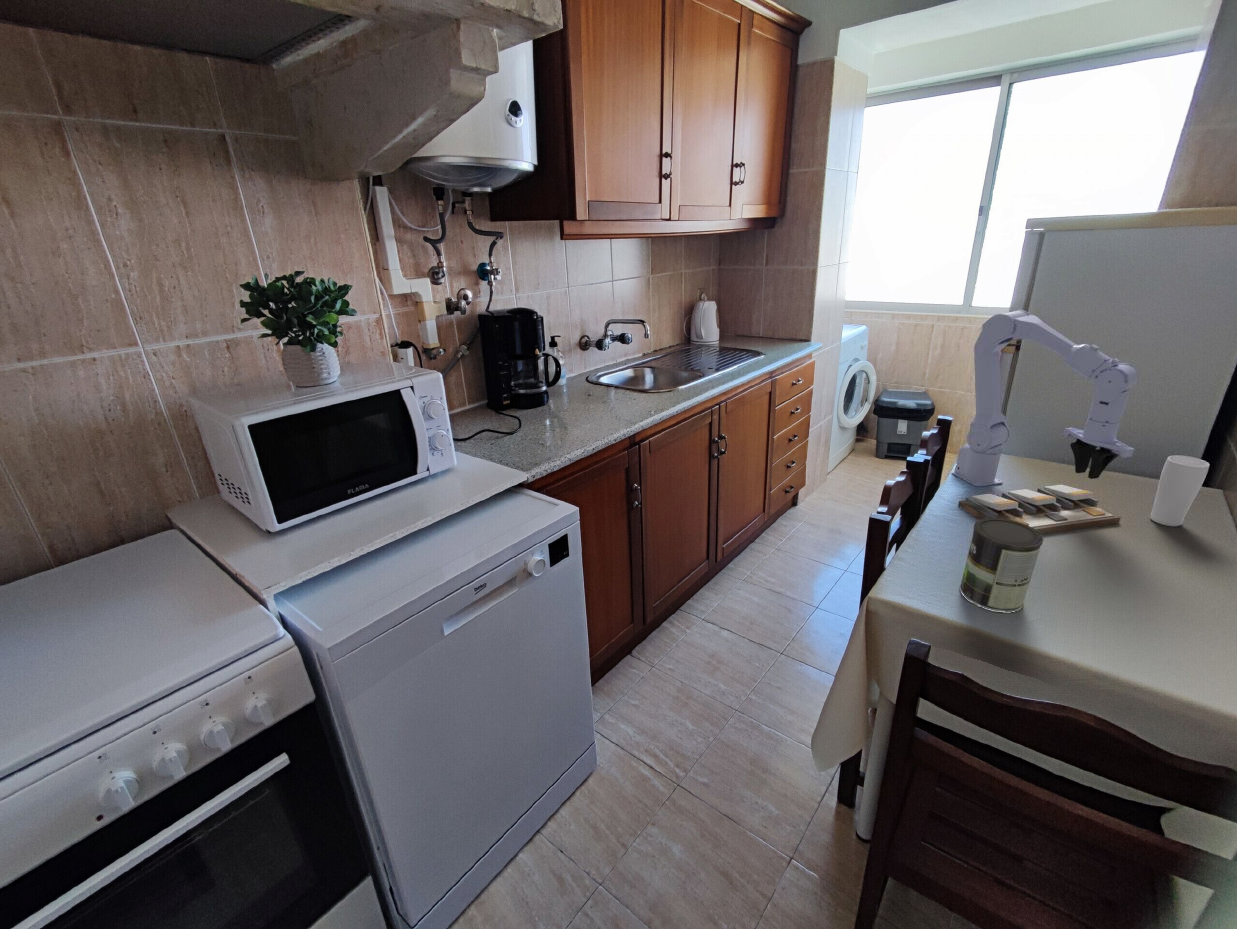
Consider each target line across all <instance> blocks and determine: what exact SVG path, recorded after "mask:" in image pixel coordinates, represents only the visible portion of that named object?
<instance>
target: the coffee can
mask: <svg viewBox="0 0 1237 929" xmlns="http://www.w3.org/2000/svg"><path fill="white" fill-rule="evenodd" d="M1043 542H1044V536H1043V534H1040V533H1039V532H1038V531H1037V530H1035V529H1034V528H1032V527H1030V526H1028V525H1025V524H1023V523H1020V522H1017V521H1013V520H1008V519H1002V518H985V519H978V520H977V521H975V522H974V525H973V532H972V536H971V541H970V545H969V549H968V554H967V557H966V562H965V564H964V570H963V574H962V578H961V583H960V586H959V588H960V590H961V592H962V593H963V594H964V596H965V597H966V598H967V599H968V600H970V601H972V602H973V603H974V604H976V605H980V606H981V607H984V608H987V609H991V610H995V611H1005V612H1012V611H1017V610H1020V609H1021V608H1022V609H1023V608H1024V603H1025V600H1026V596H1027V593H1028V590H1029V589H1028V588H1029V586H1030V582H1031V579H1032V576H1033V572H1034V569H1035V566H1036V563H1037V560H1038V555H1039V552H1040V548H1041V546H1042V545H1043ZM960 590H959V591H960ZM1022 609H1021V610H1022ZM1021 610H1020V611H1021Z"/></svg>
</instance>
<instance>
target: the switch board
mask: <svg viewBox="0 0 1237 929" xmlns="http://www.w3.org/2000/svg"><path fill="white" fill-rule="evenodd" d="M1028 490H1030V489H1028ZM1034 491H1035V492H1038V493H1041V494H1045V495H1049V496H1053V497H1055V498H1056V503H1050V504H1042V505H1035V504H1031V503H1028V502H1025V501H1022V500H1019V499H1017V498H1015V497H1013V496H1011V495H1009V494H1008V492H1001V494H1000V495H998V496H999V497H1002V498H1005V499H1008V500H1012V501H1015V502H1017V503H1018V508H1012V509H1005V510H996V509H993V508H990V507H988V506H985V505H982V504H980V503H978V502H977V501H975V500H973V499H972V497H969V496H967V497H965V499H961V500H958V504H957V507H958V506H959V507H958V508H960V507H961V508H960V509H961V510H963V509H964V510H963V511H965V512H966V511H967V512H966V513H968V512H969V513H968V514H970V515H971V514H972V516H973V517H975V518H977V519H978V518H979V519H978V520H980V519H985V518H1002V519H1008V520H1013V521H1017V522H1020V523H1023V524H1025V525H1028V526H1030V527H1032V528H1034V529H1035V530H1037V531H1038V532H1039V533H1040V534H1041V535H1044V534H1051V533H1058V532H1064V531H1065V532H1066V531H1072V530H1078V529H1087V528H1092V527H1093V528H1094V527H1099V526H1108V525H1114V524H1119V523H1120V521H1121V516H1119V515H1117V514H1115V513H1113V512H1111V511H1109V510H1106V509H1104V508H1103V507H1100V506H1098V503H1099V500H1098V499H1096V498H1094V497H1093V498H1087V499H1080V500H1072V499H1068V498H1065V497H1061V496H1058V495H1055V494H1053V493H1051V492H1049V491H1047V490H1044V488H1042V487H1038V488H1037V490H1034ZM992 494H993V495H995V493H992Z"/></svg>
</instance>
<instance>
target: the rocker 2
mask: <svg viewBox="0 0 1237 929" xmlns="http://www.w3.org/2000/svg"><path fill="white" fill-rule="evenodd" d="M1043 489H1044V490H1047V491H1049V492H1051V493H1053V494H1055V495H1058V496H1061V497H1065V498H1068V499H1072V500H1080V499H1087V498H1094V497H1093V496H1094V492H1092V491H1089V490H1083V489H1080V488H1075V487H1071V486H1069V485H1065V484H1057V485H1047V486H1043Z"/></svg>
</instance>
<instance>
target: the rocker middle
mask: <svg viewBox="0 0 1237 929" xmlns="http://www.w3.org/2000/svg"><path fill="white" fill-rule="evenodd" d="M1035 491H1036V490H1031V489H1029V490H1028V489H1027V488H1024V489H1017V490H1010V491H1007V494H1009V495H1011V496H1013V497H1015V498H1017V499H1019V500H1022V501H1025V502H1028V503H1031V504H1035V505H1042V504H1050V503H1056V498H1055V497H1053V496H1049V495H1045V494H1041V493H1038V492H1035Z"/></svg>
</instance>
